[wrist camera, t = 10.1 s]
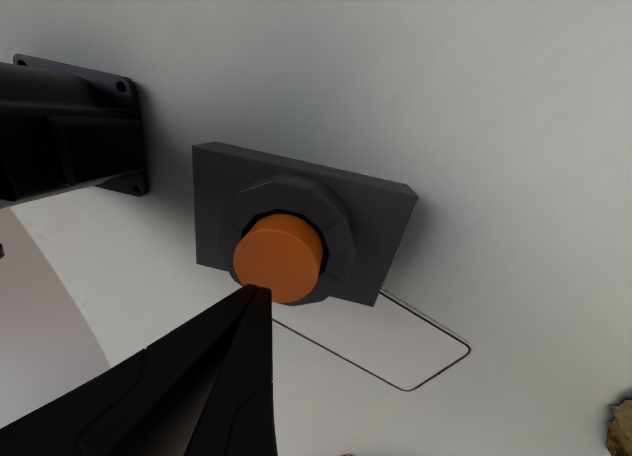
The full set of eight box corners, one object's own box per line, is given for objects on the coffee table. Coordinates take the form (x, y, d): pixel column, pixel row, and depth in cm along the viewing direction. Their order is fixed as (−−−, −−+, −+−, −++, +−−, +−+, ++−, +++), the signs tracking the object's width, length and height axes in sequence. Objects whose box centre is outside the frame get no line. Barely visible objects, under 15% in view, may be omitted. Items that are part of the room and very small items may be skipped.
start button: (246, 269, 12) (231, 292, 10) (251, 205, 10) (234, 220, 9) (314, 286, 12) (309, 311, 10) (330, 223, 10) (326, 242, 9)
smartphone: (407, 395, 20) (252, 310, 18) (405, 387, 20) (255, 304, 18) (478, 349, 17) (300, 241, 15) (474, 341, 17) (302, 236, 15)
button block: (215, 246, 16) (176, 282, 13) (215, 141, 13) (164, 149, 10) (370, 284, 16) (376, 332, 12) (408, 184, 13) (431, 210, 9)
